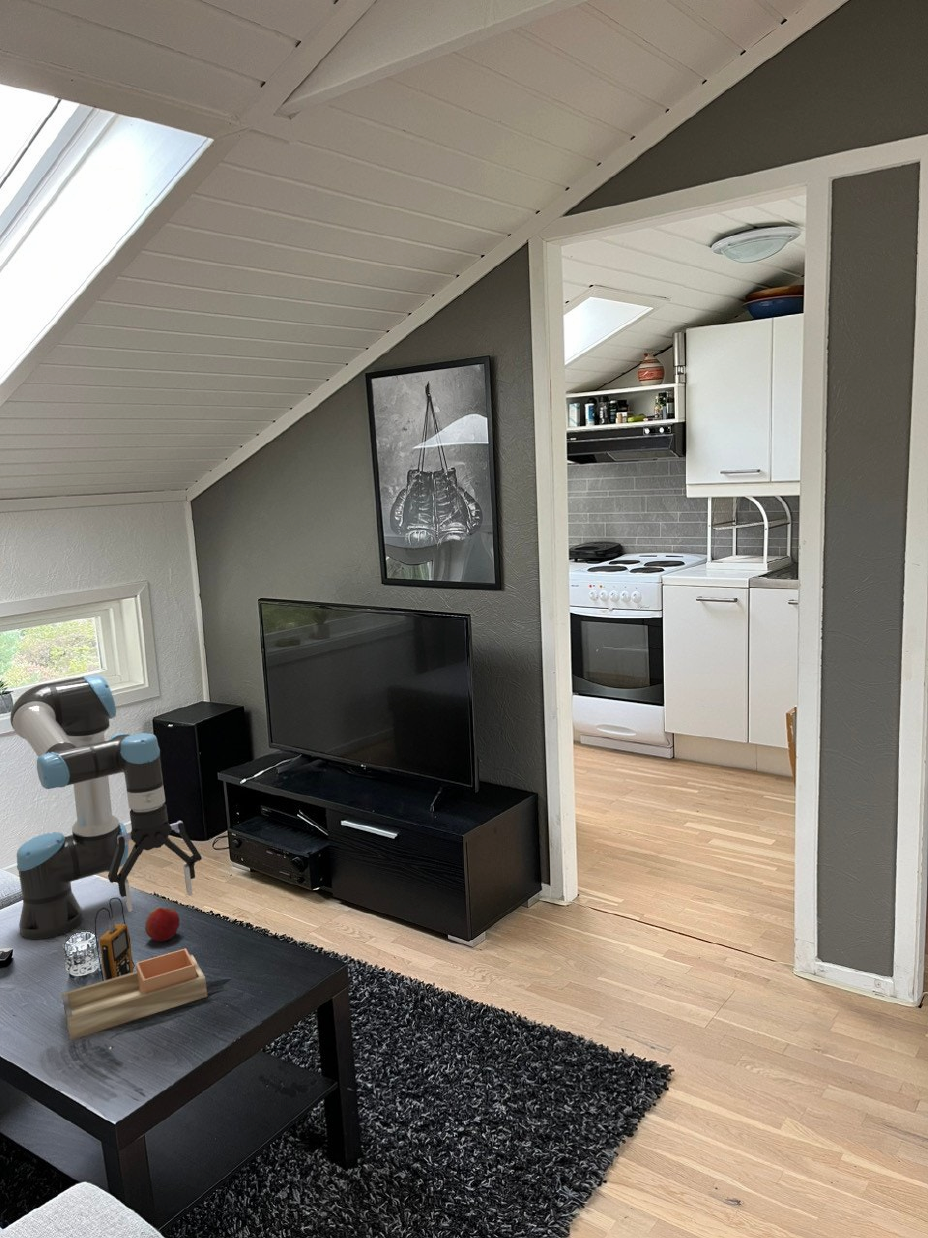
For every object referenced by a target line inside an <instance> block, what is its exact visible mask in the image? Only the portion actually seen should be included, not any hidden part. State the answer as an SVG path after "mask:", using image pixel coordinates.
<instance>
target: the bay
mask: <svg viewBox="0 0 928 1238" xmlns="http://www.w3.org/2000/svg"><path fill="white" fill-rule="evenodd" d="M189 955H190V957H191V958H192V960H193V962H194V964H195V968H196V976H197V978H194V979H191V980H188V981H184V982H181V983H178V984H175V985H171V986H168V987H165V988H162V989H159V990H155V991H152V992H149V993H146V994H141V992H140V989H139V984H138V977H137V970H136V971H133V972H132V973H129V974H126V975H122V976H119V977H115V978H112V979H109V980H105V979H104V981H98V982H96V983H93V984H90V985H89V984H88V985H86V986H82V987H78V988H75V989H72V990H69V991H65V992H63V993H61V999H62V1005H63V1013H64V1016H65V1021H66V1025H67V1029H68V1033H69V1037H70V1038H69V1039H70V1041H72V1040H75V1039H79V1038H82V1037H85V1036H88V1035H92V1034H94V1033H98V1032H101V1031H103V1030H107V1029H110V1028H113V1027H116V1026H120V1025H122V1024H126V1023H128V1022H129V1023H130V1022H132V1021H136V1020H139V1019H142V1018H145V1017H148V1016H150V1015H151V1016H152V1015H154V1014H156V1013H161V1012H164V1011H166V1010H170V1009H172V1008H176V1007H179V1006H182V1005H185V1004H188V1003H192V1002H194V1001H197V1000H198V1001H199V1000H201V999H203V998H207V997H208V991H207V990H208V989H207V982H206V976H205V974H204V972H203V971H202V969H201V967H200V965H199V964H198V962H197V960H196V958H195V957H194V955H193V954H189Z"/></svg>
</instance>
